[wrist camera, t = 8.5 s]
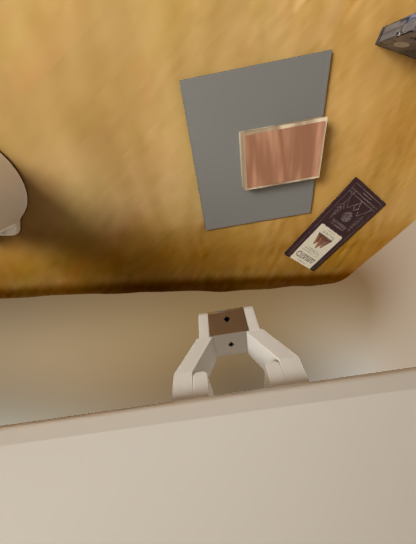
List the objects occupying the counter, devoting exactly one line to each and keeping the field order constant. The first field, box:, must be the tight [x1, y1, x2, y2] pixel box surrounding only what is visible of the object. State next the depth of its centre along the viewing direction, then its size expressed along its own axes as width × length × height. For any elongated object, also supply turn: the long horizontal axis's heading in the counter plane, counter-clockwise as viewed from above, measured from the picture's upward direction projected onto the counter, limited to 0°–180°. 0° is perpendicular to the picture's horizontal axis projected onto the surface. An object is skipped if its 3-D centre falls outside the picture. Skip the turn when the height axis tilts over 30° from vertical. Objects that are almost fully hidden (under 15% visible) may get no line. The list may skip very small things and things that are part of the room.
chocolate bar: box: [285, 177, 386, 271], centre depth 44 cm, size 9×1×18 cm
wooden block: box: [239, 117, 328, 190], centre depth 33 cm, size 3×8×12 cm
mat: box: [180, 50, 332, 230], centre depth 35 cm, size 20×22×1 cm
